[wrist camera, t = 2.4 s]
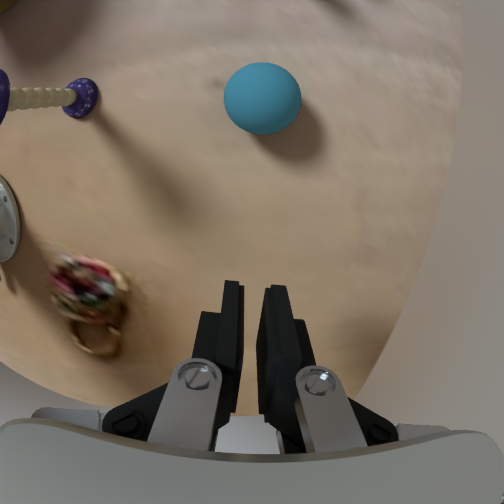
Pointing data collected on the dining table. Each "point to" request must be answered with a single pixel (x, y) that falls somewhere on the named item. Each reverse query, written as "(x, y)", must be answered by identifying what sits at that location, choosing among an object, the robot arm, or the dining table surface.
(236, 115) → the ball
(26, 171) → the dining table surface
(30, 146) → the dining table surface
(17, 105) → the toy lamp
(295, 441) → the robot arm
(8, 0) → the plant pot
